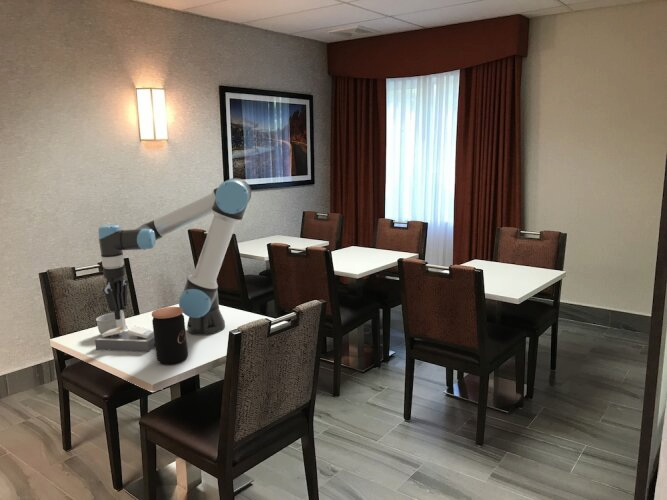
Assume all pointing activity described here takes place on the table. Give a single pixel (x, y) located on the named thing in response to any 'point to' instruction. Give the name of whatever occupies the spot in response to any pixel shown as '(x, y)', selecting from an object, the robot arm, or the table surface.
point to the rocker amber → (114, 331)
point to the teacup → (106, 322)
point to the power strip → (125, 342)
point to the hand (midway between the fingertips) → (120, 326)
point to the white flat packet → (140, 332)
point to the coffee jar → (169, 335)
